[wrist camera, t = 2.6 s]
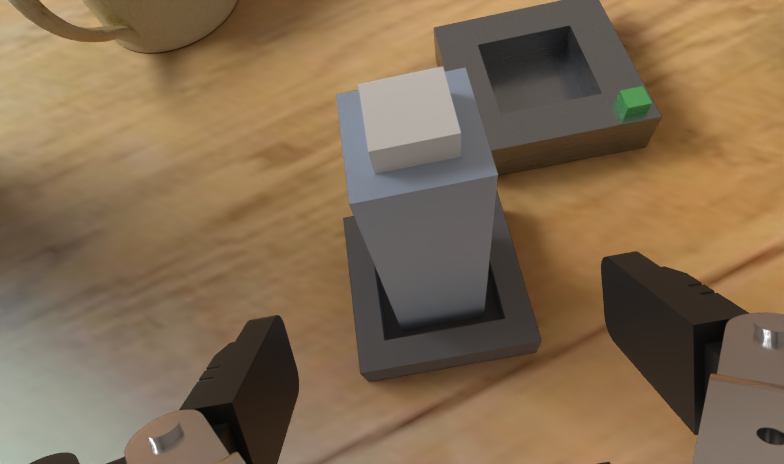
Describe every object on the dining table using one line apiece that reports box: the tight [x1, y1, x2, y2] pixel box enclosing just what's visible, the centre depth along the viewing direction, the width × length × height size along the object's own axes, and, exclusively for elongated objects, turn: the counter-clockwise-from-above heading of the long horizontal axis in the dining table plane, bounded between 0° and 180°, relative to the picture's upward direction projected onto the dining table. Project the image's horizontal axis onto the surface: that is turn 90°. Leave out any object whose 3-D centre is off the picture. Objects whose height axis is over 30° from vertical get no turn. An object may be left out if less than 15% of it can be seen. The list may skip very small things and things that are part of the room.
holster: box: [343, 190, 541, 382], centre depth 24 cm, size 8×8×2 cm
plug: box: [336, 66, 498, 331], centre depth 19 cm, size 4×4×13 cm
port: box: [434, 0, 662, 176], centre depth 28 cm, size 10×10×3 cm
